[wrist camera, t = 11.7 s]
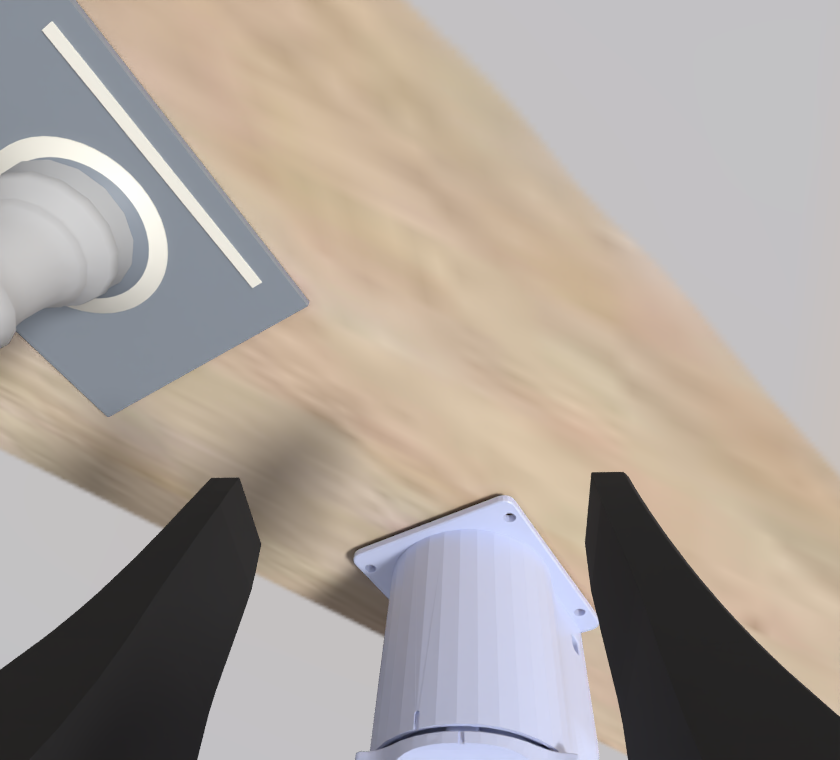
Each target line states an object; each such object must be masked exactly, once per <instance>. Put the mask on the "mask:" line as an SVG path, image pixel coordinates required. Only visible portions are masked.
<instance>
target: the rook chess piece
mask: <svg viewBox="0 0 840 760" xmlns="http://www.w3.org/2000/svg"><path fill="white" fill-rule="evenodd" d="M132 254H133V237H132V235H131V232H130V229H129V226H128V223H127V220H126V217H125V214H124V213H123V211H122V210H121V209H120V207H119V206H118V205H117V203H116V202H115V201H114V200H113V198H112V197H111V196H110V194H109V193H108V192H107V190H106V189H105V188H104V187H102V186H101V185H99V184H98V183H97V182H95V181H94V180H93V179H91V178H90V177H88V176H87V175H86V174H84V173H83V172H81V171H80V170H79V169H76V168H73V167H70V166H67V165H64V164H61V163H58V162H55V161H52V160H33V161H21V162H19V163H18V164H16V165H15V166H13V167H11V168H10V169H8V170H7V171H5V172H3V173H2V174H1V175H0V348H2V347H4V346H6V345H8V344H9V342H10V341H11V339H12V337H13V335H14V334H15V332H16V326H17V325H18V324H19V323H21V322H22V321H23V320H24V319H26V318H28V317H29V316H31V315H33V314H35V313H36V312H38V311H40V310H42V309H43V308H55V307H63V306H78V305H81V304H84V303H87V302H89V301H91V300H93V299H95V298H97V297H99V296H101V295H103V294H105V293H106V292H107V290H108V289H109V288H110V287H112V286H114V285H116V284H118V283H120V282H121V280H122V279H123V277H124V276H125V274H126V272H127V271H128V269H129V268H130V266H131V265H132Z"/></svg>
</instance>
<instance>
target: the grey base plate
mask: <svg viewBox="0 0 840 760" xmlns="http://www.w3.org/2000/svg"><path fill="white" fill-rule="evenodd" d="M33 160H52V161H55V162H58V163H61V164H64V165H67V166H70V167H73V168H76V169H79V170H80V171H81V172H83V173H84V174H86V175H87V176H88V177H90V178H91V179H93V180H94V181H95V182H97V183H98V184H99V185H101V186H102V187H104V188H105V189H106V190H107V192H108V193H109V194H110V196H111V197H112V198H113V200H114V201H115V202H116V203H117V205H118V206H119V207H120V209H121V210H122V211H123V213H124V214H125V217H126V220H127V223H128V226H129V229H130V232H131V235H132V237H133V254H132V265H131V266H130V268H129V269H128V271H127V272H126V274H125V276H124V277H123V279H122V280H121V282H120V283H118V284H116V285H114V286H112V287H110V288H109V289H108V290H107V292H106V293H105V294H103V295H101V296H99V297H97V298H95V299H93V300H91V301H89V302H87V303H84V304H81V305H78V306H63V307H55V308H43V309H42V310H40V311H38V312H36V313H35V314H33V315H31V316H29V317H28V318H26V319H24V320H23V321H22V322H21V323H19V324H18V325H17V326H16V332H18V333H19V334H20V335H21V336H22V337H23V338H24V339H25V340H26V341H27V342H28V343H29V344H30V345H31V346H32V347H34V348H35V349H36V350H37V351H38V352H39V353H40V354H41V355H42V356H43V357H44V358H45V359H46V360H47V361H48V362H50V363H51V364H52V365H53V366H54V367H55V368H56V369H57V370H58V371H59V372H60V373H61V374H62V375H63V376H64V377H66V378H67V379H68V380H69V381H70V382H71V383H72V384H73V385H74V386H75V387H76V388H77V389H78V390H79V391H80V392H82V393H83V394H84V395H85V396H86V397H87V398H88V399H89V400H90V401H91V402H92V403H93V404H94V405H95V406H96V407H98V408H99V409H100V410H101V411H102V412H103V413H104V414H105V415H106V416H107V417H110V416H111V415H113V414H115V413H117V412H119V411H120V410H122V409H124V408H126V407H128V406H129V405H131V404H133V403H135V402H137V401H138V400H140V399H142V398H144V397H146V396H147V395H149V394H151V393H153V392H154V391H156V390H158V389H160V388H162V387H163V386H165V385H167V384H169V383H171V382H172V381H174V380H176V379H178V378H180V377H181V376H183V375H185V374H187V373H189V372H190V371H192V370H194V369H196V368H197V367H199V366H201V365H203V364H205V363H206V362H208V361H210V360H212V359H214V358H215V357H217V356H219V355H221V354H223V353H224V352H226V351H228V350H230V349H232V348H233V347H235V346H237V345H239V344H241V343H242V342H244V341H246V340H248V339H249V338H251V337H253V336H255V335H257V334H258V333H260V332H262V331H264V330H266V329H267V328H269V327H271V326H273V325H275V324H276V323H278V322H280V321H282V320H284V319H285V318H287V317H289V316H291V315H292V314H294V313H296V312H298V311H300V310H301V309H303V308H305V307H307V306H308V304H309V300H308V299H307V298H306V297H305V295H304V294H303V293H302V291H301V290H300V289H299V288H298V286H297V285H296V284H295V282H294V281H293V280H292V279H291V277H290V276H289V275H288V273H287V272H286V271H285V270H284V268H283V267H282V266H281V264H280V263H279V262H278V260H277V259H276V258H275V257H274V255H273V254H272V253H271V251H270V250H269V249H268V248H267V246H266V245H265V244H264V242H263V241H262V240H261V239H260V237H259V236H258V235H257V233H256V232H255V231H254V230H253V228H252V227H251V226H250V224H249V223H248V222H247V220H246V219H245V218H244V217H243V215H242V214H241V213H240V211H239V210H238V209H237V208H236V206H235V205H234V204H233V202H232V201H231V200H230V199H229V197H228V196H227V195H226V193H225V192H224V191H223V190H222V188H221V187H220V186H219V184H218V183H217V182H216V180H215V179H214V178H213V177H212V175H211V174H210V173H209V171H208V170H207V169H206V168H205V166H204V165H203V164H202V162H201V161H200V160H199V159H198V157H197V156H196V155H195V153H194V152H193V151H192V150H191V148H190V147H189V146H188V144H187V143H186V142H185V140H184V139H183V138H182V137H181V135H180V134H179V133H178V131H177V130H176V129H175V128H174V126H173V125H172V124H171V122H170V121H169V120H168V119H167V117H166V116H165V115H164V113H163V112H162V111H161V110H160V108H159V107H158V106H157V104H156V103H155V102H154V101H153V99H152V98H151V97H150V95H149V94H148V93H147V91H146V90H145V89H144V88H143V86H142V85H141V84H140V82H139V81H138V80H137V79H136V77H135V76H134V75H133V73H132V72H131V71H130V70H129V68H128V67H127V66H126V64H125V63H124V62H123V61H122V59H121V58H120V57H119V55H118V54H117V53H116V51H115V50H114V49H113V48H112V46H111V45H110V44H109V42H108V41H107V40H106V39H105V37H104V36H103V35H102V33H101V32H100V31H99V30H98V28H97V27H96V26H95V24H94V23H93V22H92V21H91V19H90V18H89V17H88V15H87V14H86V13H85V11H84V10H83V9H82V8H81V6H80V5H79V4H78V2H77V1H76V0H0V175H1V174H2V173H3V172H5V171H7V170H8V169H10V168H11V167H13V166H15V165H16V164H18V163H19V162H21V161H33Z"/></svg>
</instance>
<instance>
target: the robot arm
mask: <svg viewBox="0 0 840 760" xmlns="http://www.w3.org/2000/svg"><path fill="white" fill-rule="evenodd" d="M507 513H512V514H513V515H506V514H507ZM260 547H261V542H260V539H259V536H258V533H257V530H256V527H255V524H254V521H253V518H252V515H251V512H250V509H249V506H248V503H247V500H246V497H245V494H244V491H243V488H242V485H241V481H240V478H211V479H210V480H209V481H208V482H207V483H206V484H205V485H204V486H203V487H202V488H201V489H200V490H199V491H198V493H197V494H196V495H195V496H194V497H193V498H192V499H191V500H190V501H189V502H188V503H187V504H186V505H185V506H184V507H183V508H182V509H181V511H180V512H179V513H178V514H177V515H176V516H175V517H174V518H173V519H172V520H171V521H170V522H169V523H168V524H167V525H166V526H165V528H164V529H163V530H162V531H161V532H160V533H159V534H158V535H157V536H156V537H155V538H154V539H153V540H152V541H151V542H150V543H149V544H148V545H147V546H146V547H145V548H144V549H143V550H142V551H141V552H140V553H139V554H138V555H137V556H136V557H135V558H134V559H133V560H132V561H131V562H130V563H129V564H128V565H127V566H126V567H125V568H124V569H123V570H122V571H121V572H120V573H119V574H118V575H116V576H115V577H114V578H113V579H112V580H111V581H110V582H109V583H108V584H107V585H106V586H105V587H104V588H103V589H102V590H101V591H100V592H98V594H96V595H95V596H94V597H93V598H92V599H91V600H89V601H88V602H87V603H86V604H85V605H84V606H82V607H81V608H80V609H79V610H78V611H77V612H75V613H74V614H73V615H72V616H70V617H69V618H68V619H67V620H66V621H65V622H63V623H62V624H61V625H59V626H58V627H57V628H56V629H55V630H53V631H52V632H51V633H49V634H48V635H47V636H46V637H44V638H43V639H42V640H40V641H39V642H38V643H36V644H35V645H33V646H32V647H31V648H30V649H28V650H27V651H25V652H24V653H23V654H21V655H20V656H18V657H17V658H16V659H14V660H13V661H12V662H10V663H9V664H8V665H6V666H5V667H3V668H2V669H1V670H0V760H197V758H198V754H199V750H200V746H201V742H202V738H203V734H204V730H205V726H206V722H207V718H208V714H209V711H210V708H211V705H212V701H213V698H214V695H215V691H216V689H217V686H218V683H219V680H220V678H221V675H222V672H223V669H224V666H225V664H226V661H227V658H228V655H229V652H230V650H231V647H232V644H233V641H234V638H235V635H236V633H237V630H238V627H239V624H240V621H241V619H242V616H243V613H244V610H245V607H246V604H247V601H248V598H249V595H250V592H251V589H252V584H253V580H254V576H255V572H256V567H257V562H258V557H259V552H260ZM585 547H586V555H587V563H588V571H589V578H590V585H591V592H592V596H593V601H594V605H595V609H596V612H595V611H594V610H593V608H592V607H591V605H590V604H589V603H588V601H587V600H586V599H585V597H584V596H583V594H582V593H581V592H580V590H579V589H578V587H577V586H576V585H575V583H574V582H573V580H572V579H571V578H570V576H569V575H568V573H567V572H566V571H565V569H564V568H563V567H562V565H561V564H560V562H559V561H558V560H557V558H556V557H555V555H554V554H553V553H552V551H551V550H550V548H549V547H548V546H547V544H546V543H545V541H544V540H543V539H542V537H541V536H540V535H539V533H538V532H537V530H536V529H535V528H534V526H533V525H532V523H531V522H530V521H529V519H528V518H527V516H526V515H525V514H524V512H523V511H522V509H521V508H520V507H519V505H518V504H517V503H516V501H515V500H514V499H513V498H512V497H510V496H506V495H501V496H497V497H495V498H492V499H489V500H487V501H484V502H482V503H479V504H476V505H474V506H471V507H468V508H466V509H463V510H461V511H458V512H455V513H453V514H450V515H447V516H445V517H442V518H440V519H437V520H434V521H432V522H429V523H426V524H424V525H421V526H419V527H416V528H413V529H411V530H408V531H405V532H403V533H400V534H397V535H395V536H392V537H390V538H387V539H384V540H382V541H379V542H376V543H374V544H371V545H369V546H366V547H363V548H361V549H358V550H357V551H356V552H355V554H354V563H355V565H356V566H357V567H358V568H359V569H360V570H361V571H362V572H363V573H364V574H365V575H366V576H367V577H368V578H369V579H370V580H371V581H372V582H373V583H374V584H375V585H376V586H377V587H378V588H379V590H380V591H381V592H382V593H383V594H384V595H385V596H386V597H387V598H388V599H389V605H388V613H387V621H386V629H385V637H384V645H383V652H382V661H381V668H380V676H379V684H378V692H377V701H376V708H375V715H374V723H373V731H372V739H371V747H370V751H360V752H357V753H356V757H355V760H599V749H598V741H597V735H596V728H595V722H594V715H593V709H592V702H591V696H590V689H589V683H588V677H587V670H586V664H585V657H584V651H583V644H582V638H581V633H582V632H586V631H589V630H592V629H595V628H596V627H597V626H598V625H600V630H601V634H602V638H603V642H604V646H605V650H606V654H607V658H608V662H609V666H610V670H611V674H612V678H613V682H614V686H615V690H616V694H617V698H618V703H619V708H620V713H621V718H622V723H623V729H624V735H625V742H626V749H627V755H628V760H840V716H838V715H837V714H836V713H835V712H834V711H832V710H831V709H830V708H829V707H828V706H827V705H826V704H825V703H823V702H822V701H821V700H820V699H819V698H818V697H817V696H815V695H814V694H813V693H812V692H811V691H810V690H809V689H808V688H806V687H805V686H804V685H803V684H802V683H801V682H800V681H798V680H797V679H796V678H795V677H794V676H793V675H792V674H790V673H789V672H788V671H787V670H786V669H785V668H784V667H783V666H782V665H781V664H780V663H779V662H778V661H777V660H776V659H774V658H773V657H772V656H771V655H770V654H769V653H768V652H767V651H766V650H765V649H764V648H763V647H762V646H761V645H760V644H759V643H758V642H757V641H756V640H755V639H754V638H753V637H752V636H751V635H750V634H749V633H748V632H747V631H746V630H745V629H744V628H743V626H742V625H741V624H740V623H739V622H738V621H737V620H736V619H735V618H734V617H733V616H732V615H731V614H730V613H729V612H728V610H727V609H726V608H725V607H724V606H723V605H722V604H721V603H720V601H719V600H718V599H717V598H716V597H715V596H714V594H713V593H712V592H711V591H710V590H709V589H708V587H707V586H706V585H705V584H704V583H703V581H702V580H701V579H700V578H699V577H698V575H697V574H696V573H695V572H694V570H693V569H692V568H691V567H690V565H689V564H688V563H687V562H686V560H685V559H684V558H683V556H682V555H681V554H680V552H679V551H678V550H677V548H676V547H675V546H674V544H673V543H672V542H671V541H670V539H669V538H668V537H667V535H666V534H665V532H664V531H663V530H662V528H661V527H660V525H659V524H658V522H657V521H656V519H655V518H654V517H653V515H652V514H651V512H650V511H649V509H648V508H647V506H646V505H645V503H644V502H643V500H642V498H641V497H640V495H639V494H638V492H637V490H636V489H635V487H634V485H633V484H632V482H631V480H630V479H629V477H628V476H627V475H626V474H625V473H624V472H592V473H591V483H590V494H589V505H588V516H587V527H586V538H585ZM596 613H597V614H596Z"/></svg>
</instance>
